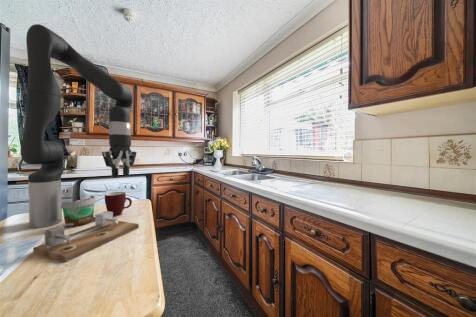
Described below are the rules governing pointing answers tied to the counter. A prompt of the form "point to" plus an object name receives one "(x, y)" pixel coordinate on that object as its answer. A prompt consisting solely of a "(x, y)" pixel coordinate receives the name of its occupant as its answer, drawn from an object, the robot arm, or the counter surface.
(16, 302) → the counter surface
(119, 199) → the mug
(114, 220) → the leg
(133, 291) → the counter surface
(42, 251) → the hole board
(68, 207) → the food container
